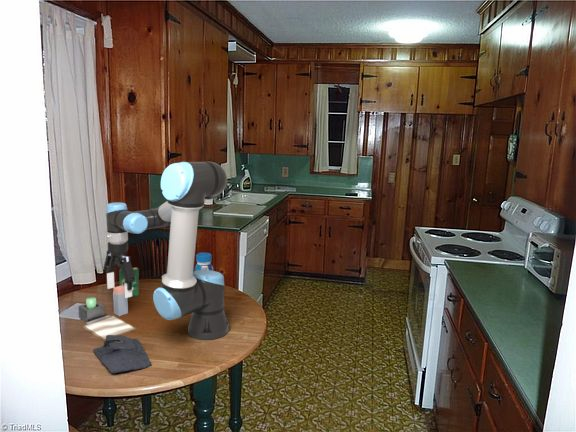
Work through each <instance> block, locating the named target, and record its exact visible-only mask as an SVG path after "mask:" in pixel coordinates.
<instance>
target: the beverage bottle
mask: <svg viewBox="0 0 576 432" xmlns="http://www.w3.org/2000/svg"><path fill="white" fill-rule="evenodd" d="M195 257H196V258H195V260H196V262H197V263H196V264H195V266H194V271H197V270H211V271H214V266H213V264H212V263H211V262H212V254H211V253H209V252H198V253H196V254H195Z"/></svg>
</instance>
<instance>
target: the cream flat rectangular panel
mask: <svg viewBox="0 0 576 432" xmlns="http://www.w3.org/2000/svg"><path fill="white" fill-rule="evenodd" d="M80 327H81V328H82V329H84V330H85V331H87V332H88V333H90V334H92V335H93V336H94V337H97V338H99V339H100V340H101V341H102V342H104V341H105V340H106V335H124V334H127V333H130V332H132V331H136V330H137V329H138V328H137V327H135V326H134V325H132V324H130V323H128V322H127V321H124V320H123V319H121V318H119V316H116V315H114V314H113V315H110V314H109V315H105V317H102V318H99V319H95V320H92V321H89V322H85V323H83V324H82V325H80Z"/></svg>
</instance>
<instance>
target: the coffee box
mask: <svg viewBox="0 0 576 432" xmlns="http://www.w3.org/2000/svg"><path fill="white" fill-rule="evenodd" d="M132 269H133V272H134V276H135V281H132V297H131V298H133V297H139V295H140V294H139V293H140V292H139V287H140V286H139V268H138V267H132ZM118 273H119V274H118V277H119V278H118V280H119V281H118V282H119V284H118V285H119V286H124V287H125V285H124V282H125V278H124V276H123V274H122V271H121V269H120V268H119V269H118Z"/></svg>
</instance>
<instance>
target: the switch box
mask: <svg viewBox="0 0 576 432" xmlns="http://www.w3.org/2000/svg"><path fill="white" fill-rule="evenodd" d="M96 306H97V307H94V308H91V309H88V308H87V307H86V303H85V304H80V305H78V317H79V319H80V320H81V321H83V322H85V323H86V322H89V321H92V320H95V319H99V318H102V317H105V316H106V311H105V309H106V308H105V307H106V306H105V305H104V304H102V303H100V302H99V301H96Z"/></svg>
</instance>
